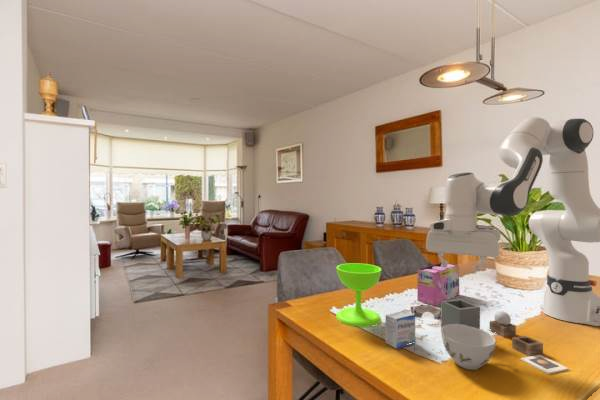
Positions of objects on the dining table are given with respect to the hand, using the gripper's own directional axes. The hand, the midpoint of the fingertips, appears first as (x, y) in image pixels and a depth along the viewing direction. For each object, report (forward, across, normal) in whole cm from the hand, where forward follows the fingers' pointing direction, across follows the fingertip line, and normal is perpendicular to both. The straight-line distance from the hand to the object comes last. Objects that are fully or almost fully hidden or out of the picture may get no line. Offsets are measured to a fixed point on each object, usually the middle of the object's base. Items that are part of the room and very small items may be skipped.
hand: (461, 268), depth 96 cm
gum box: (+22, +12, -36) cm, 44 cm away
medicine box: (+21, +15, +16) cm, 30 cm away
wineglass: (+21, +33, +5) cm, 39 cm away
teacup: (+21, -4, +17) cm, 27 cm away
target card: (+21, -20, +7) cm, 30 cm away
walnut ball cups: (+21, -14, -5) cm, 26 cm away
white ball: (+17, -11, -10) cm, 22 cm away
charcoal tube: (+21, 0, 0) cm, 21 cm away
